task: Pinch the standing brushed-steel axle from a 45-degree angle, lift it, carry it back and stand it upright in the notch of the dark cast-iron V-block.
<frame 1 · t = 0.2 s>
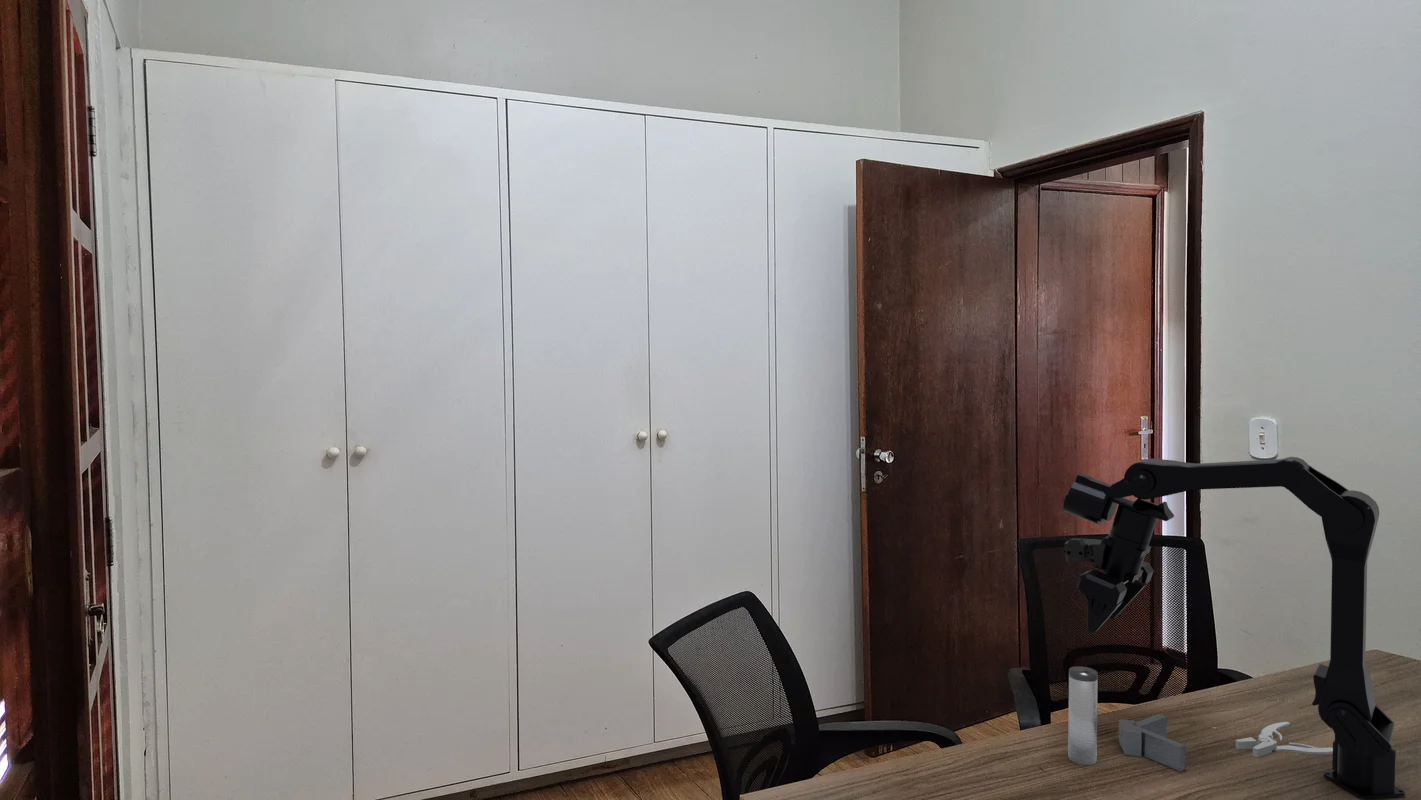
hand: (1100, 625, 137), 15 cm above the table, tool tilted 15°, fingers open, 9 cm apart
axle: (1082, 758, 124), on the table
pliers: (1281, 747, 128), on the table
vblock: (1158, 752, 126), on the table
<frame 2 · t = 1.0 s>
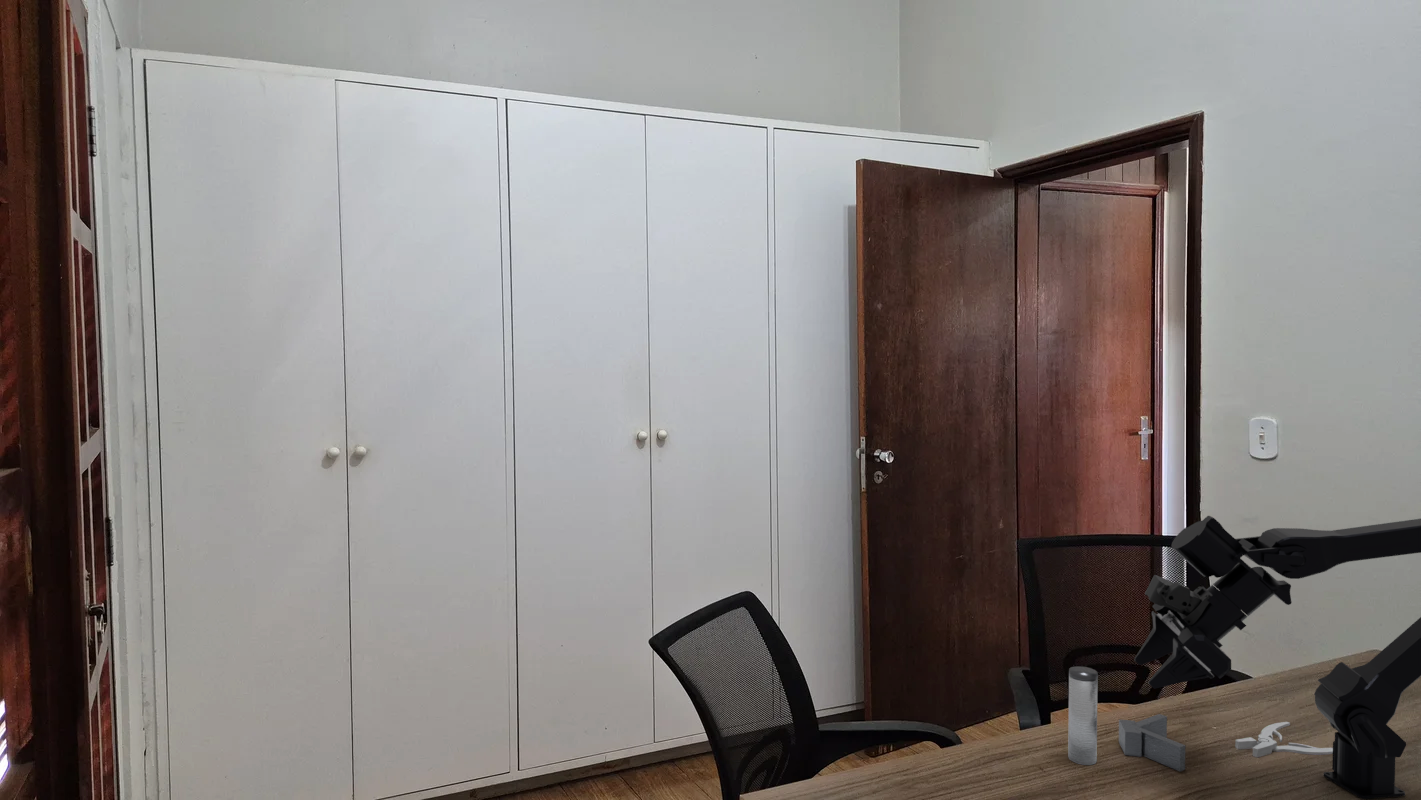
hand: (1143, 673, 122), 13 cm above the table, tool tilted 45°, fingers open, 9 cm apart
nothing on the table moved.
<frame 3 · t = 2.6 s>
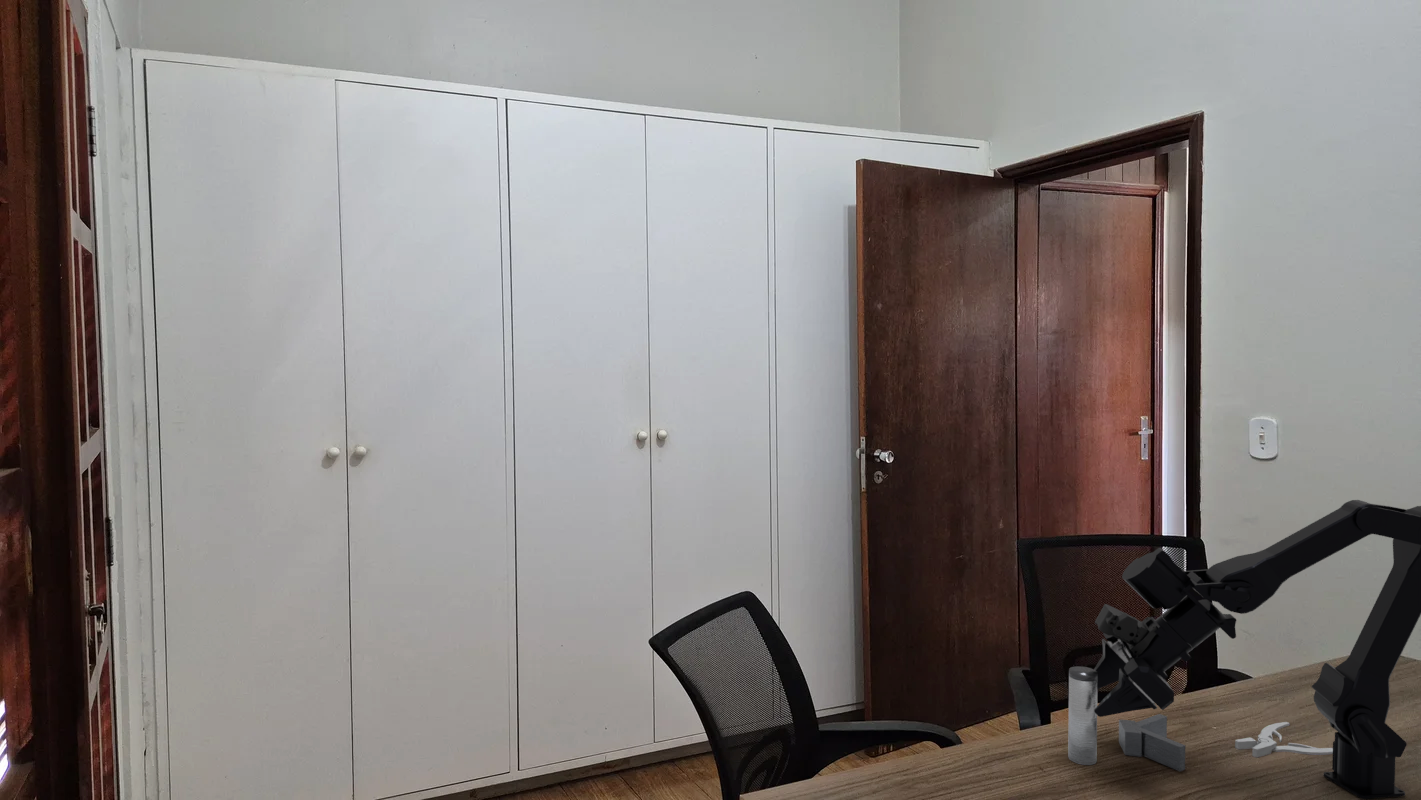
hand: (1090, 701, 123), 9 cm above the table, tool tilted 45°, fingers open, 9 cm apart
nothing on the table moved.
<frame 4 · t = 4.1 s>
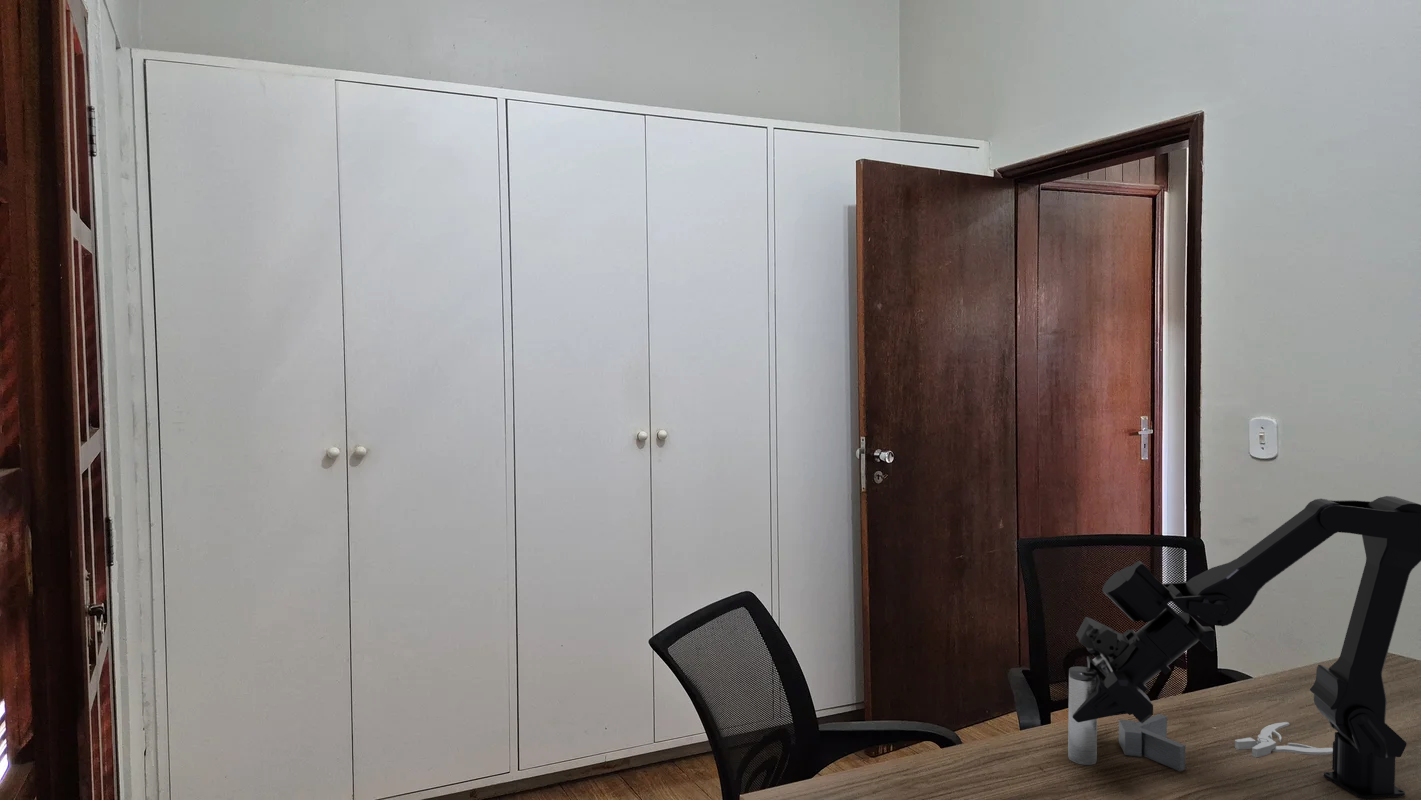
hand: (1072, 713, 124), 7 cm above the table, tool tilted 45°, fingers closed on axle, 4 cm apart
axle: (1082, 758, 124), on the table, touching gripper
everything else where it was.
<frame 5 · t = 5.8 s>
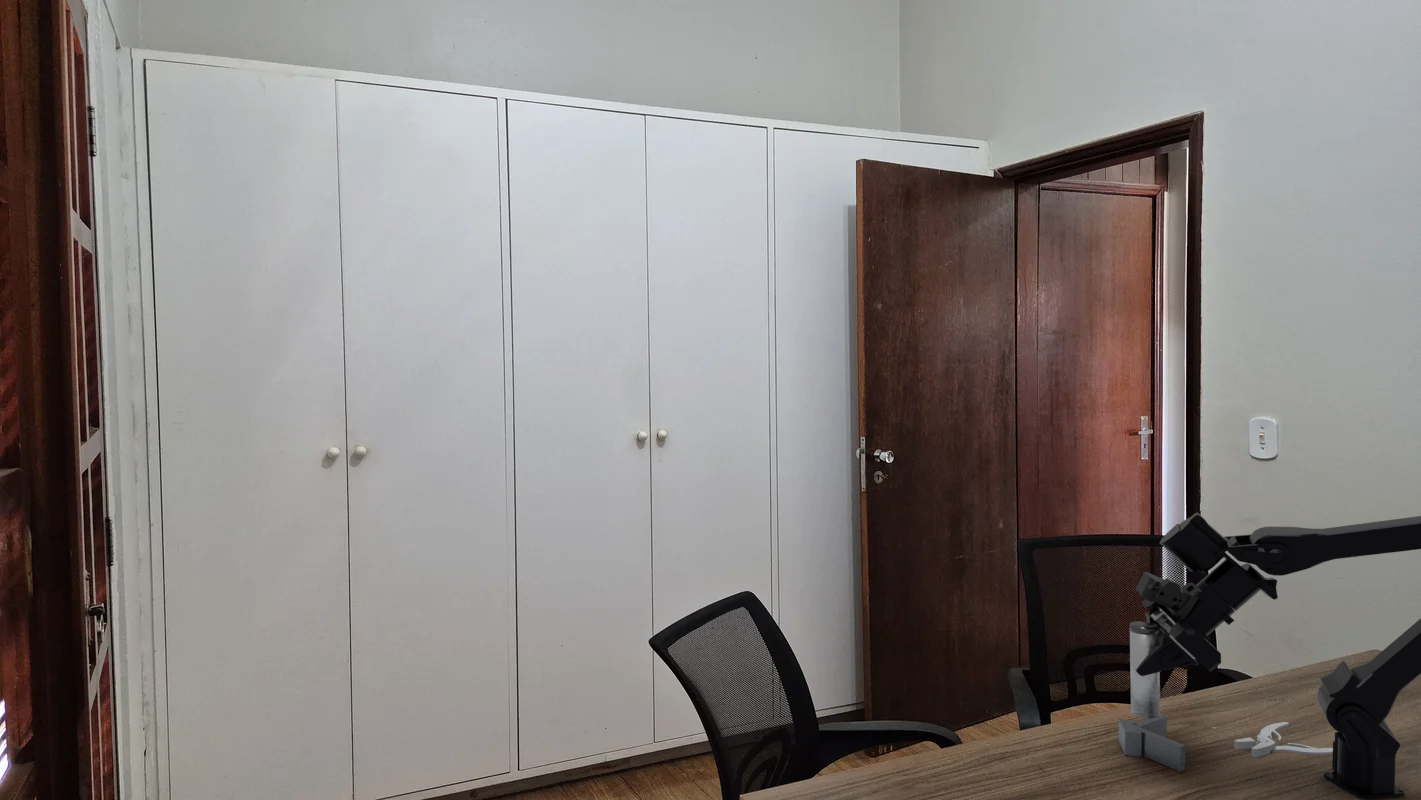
hand: (1134, 668, 124), 13 cm above the table, tool tilted 45°, fingers closed on axle, 4 cm apart
axle: (1145, 713, 124), point 6 cm above the table, touching gripper
everything else where it was.
when the fingers open (8 cm above the table, at t = 7.8 s): axle drops 1 cm, on the table.
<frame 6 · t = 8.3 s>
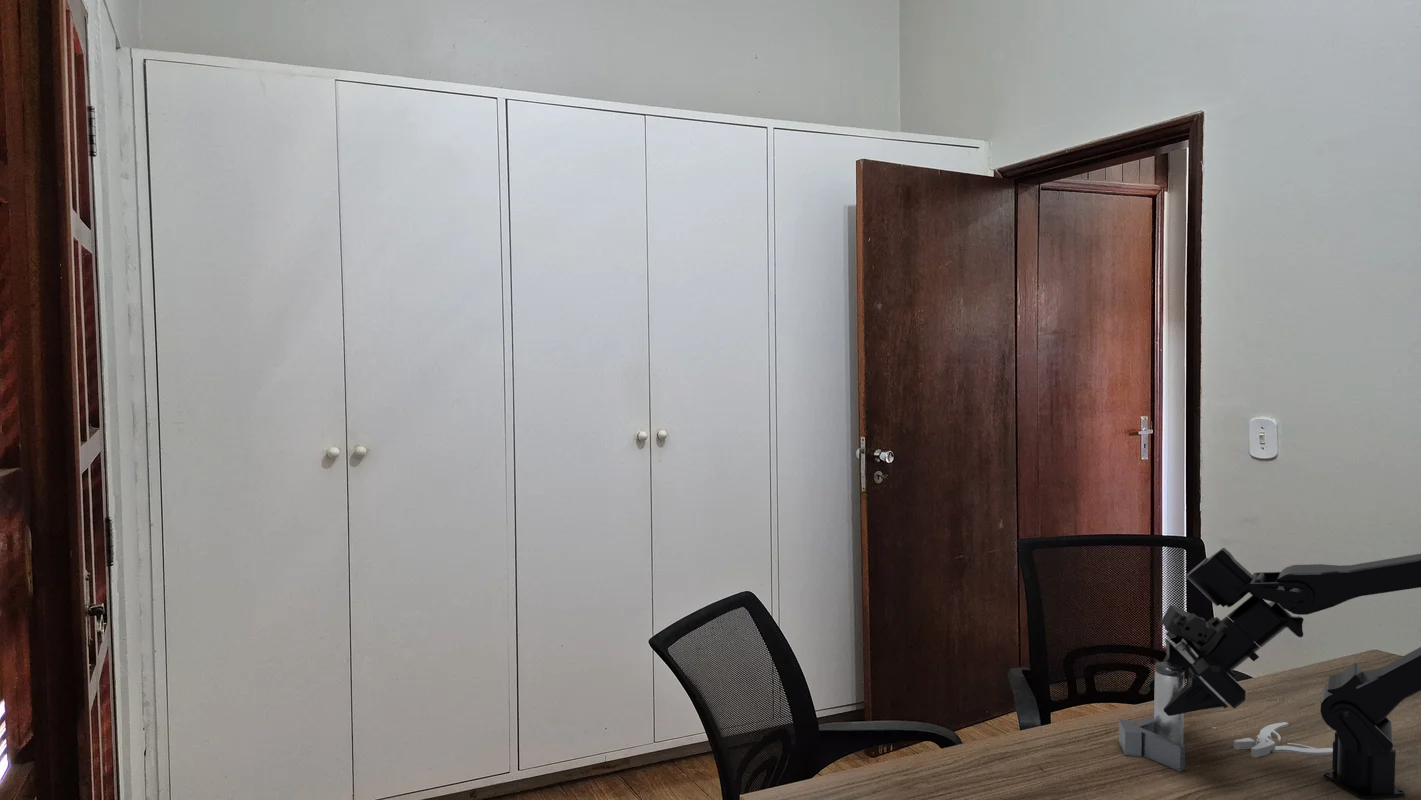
hand: (1157, 700, 126), 8 cm above the table, tool tilted 45°, fingers open, 9 cm apart
axle: (1168, 753, 125), on the table
everything else where it was.
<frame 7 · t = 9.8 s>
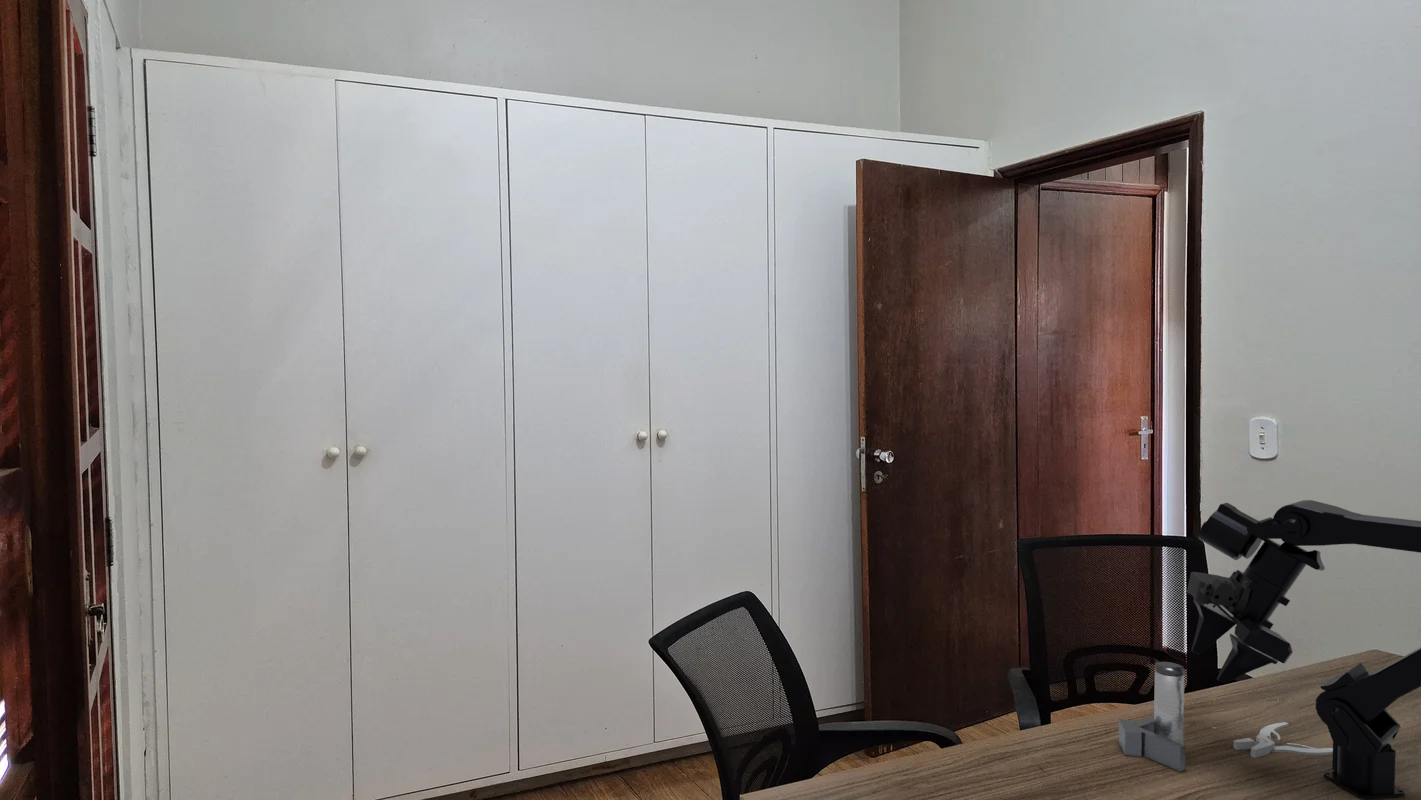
hand: (1207, 666, 126), 12 cm above the table, tool tilted 30°, fingers open, 9 cm apart
nothing on the table moved.
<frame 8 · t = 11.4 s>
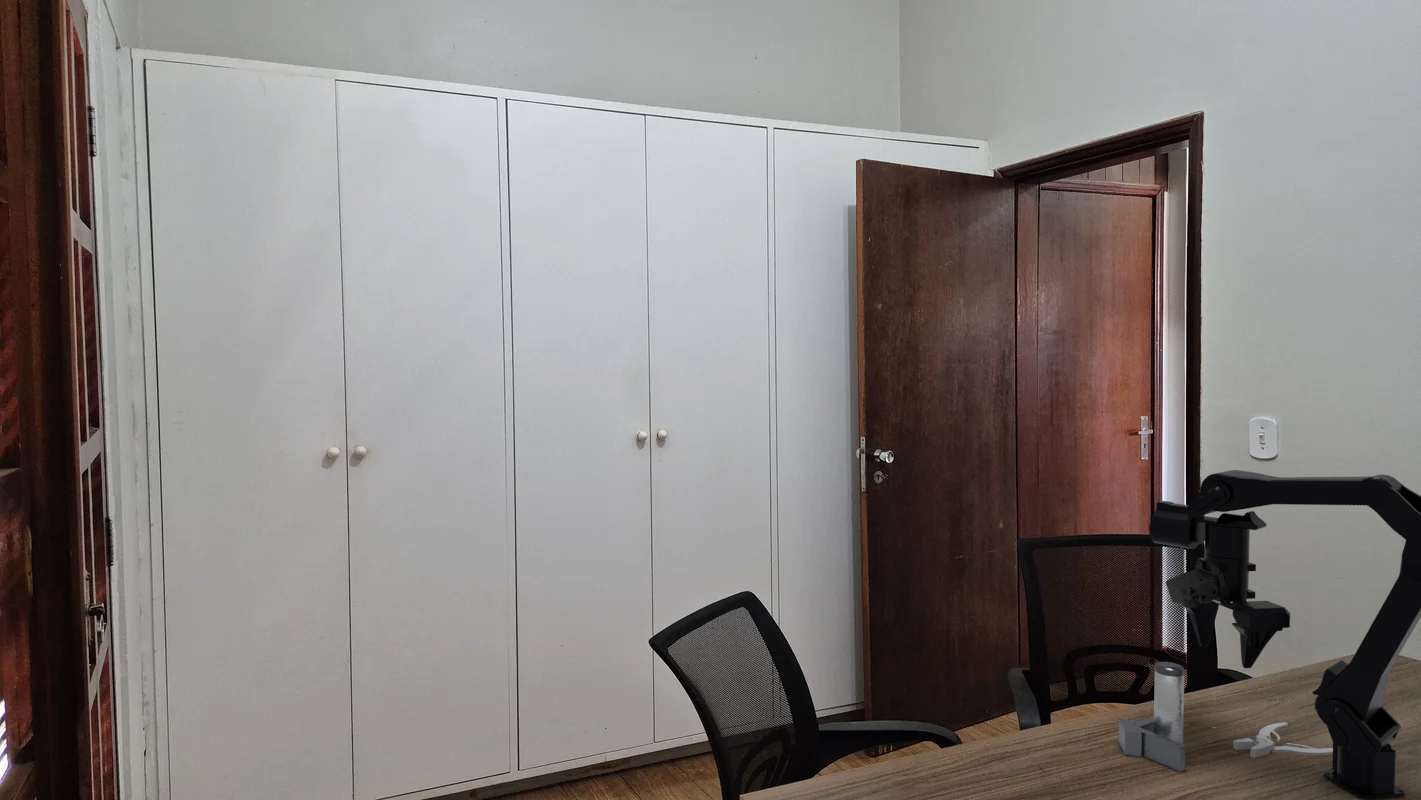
hand: (1224, 656, 128), 13 cm above the table, tool pointing down, fingers open, 9 cm apart
nothing on the table moved.
at the end: axle 1.3 cm from the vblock (horizontally); axle tilted 0°; axle on the table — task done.
